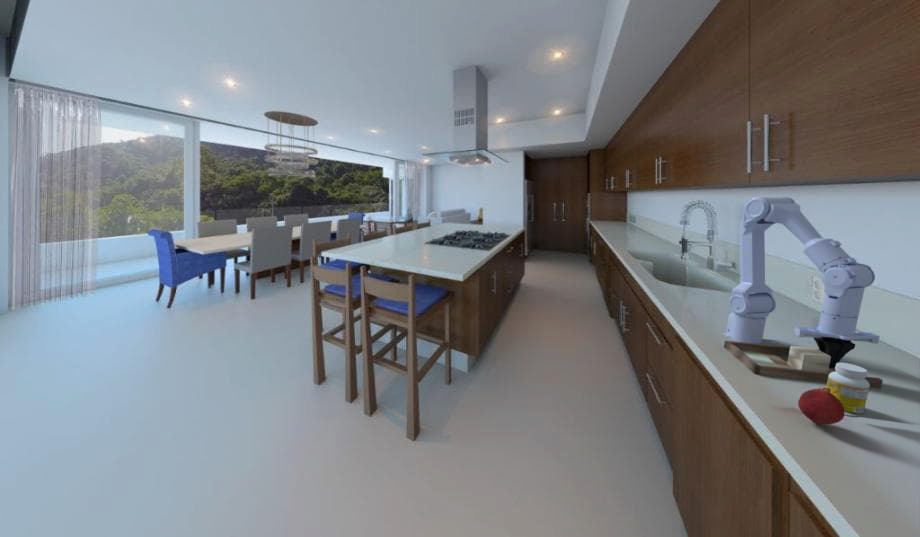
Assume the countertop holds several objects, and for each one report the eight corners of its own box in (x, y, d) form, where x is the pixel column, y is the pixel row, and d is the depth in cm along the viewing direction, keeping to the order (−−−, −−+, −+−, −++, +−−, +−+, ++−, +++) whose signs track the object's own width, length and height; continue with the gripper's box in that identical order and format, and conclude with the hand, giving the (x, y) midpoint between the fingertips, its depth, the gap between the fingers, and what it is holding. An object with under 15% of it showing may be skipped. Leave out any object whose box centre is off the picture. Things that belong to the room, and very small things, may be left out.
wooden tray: (723, 350, 94) (725, 340, 93) (825, 360, 86) (827, 350, 86) (753, 377, 79) (755, 366, 78) (879, 392, 72) (882, 380, 71)
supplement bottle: (865, 422, 62) (877, 376, 60) (824, 411, 65) (834, 368, 64) (858, 408, 66) (868, 366, 64) (820, 399, 69) (828, 358, 68)
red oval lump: (803, 428, 60) (811, 390, 59) (790, 411, 65) (797, 375, 64) (847, 438, 58) (856, 398, 56) (830, 419, 63) (838, 382, 61)
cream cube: (787, 363, 83) (790, 345, 82) (811, 366, 81) (815, 347, 81) (800, 373, 78) (804, 354, 77) (827, 375, 77) (830, 356, 76)
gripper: (812, 316, 74) (802, 370, 77) (897, 322, 70) (883, 378, 72) (792, 307, 81) (783, 357, 83) (868, 312, 77) (856, 364, 79)
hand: (828, 366), depth 78 cm, fingers closed
